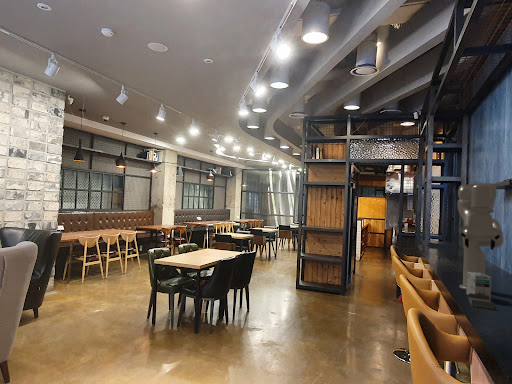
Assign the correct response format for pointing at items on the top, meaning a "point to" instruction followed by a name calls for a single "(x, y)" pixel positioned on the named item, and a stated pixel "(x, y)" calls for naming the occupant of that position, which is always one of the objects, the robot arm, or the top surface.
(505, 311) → the top surface
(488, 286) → the light bulb box
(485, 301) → the tray
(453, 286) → the top surface
